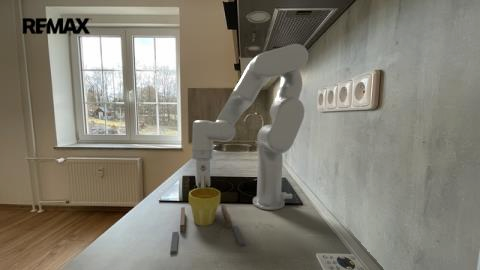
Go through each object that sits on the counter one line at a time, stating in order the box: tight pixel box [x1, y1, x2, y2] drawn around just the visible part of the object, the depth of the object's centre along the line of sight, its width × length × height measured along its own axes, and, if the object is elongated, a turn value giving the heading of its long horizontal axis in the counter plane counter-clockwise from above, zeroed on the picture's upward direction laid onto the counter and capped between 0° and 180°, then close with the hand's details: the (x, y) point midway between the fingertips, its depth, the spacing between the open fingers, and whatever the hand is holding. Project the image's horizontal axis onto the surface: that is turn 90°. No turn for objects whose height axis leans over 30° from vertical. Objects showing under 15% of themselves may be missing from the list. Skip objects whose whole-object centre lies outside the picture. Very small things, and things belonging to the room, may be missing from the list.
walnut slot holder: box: [179, 203, 232, 234], centre depth 73 cm, size 15×12×2 cm
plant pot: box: [188, 186, 222, 227], centre depth 72 cm, size 10×10×10 cm
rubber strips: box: [169, 225, 246, 255], centre depth 62 cm, size 20×9×1 cm, turn 103°
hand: (201, 201), depth 82 cm, fingers closed
